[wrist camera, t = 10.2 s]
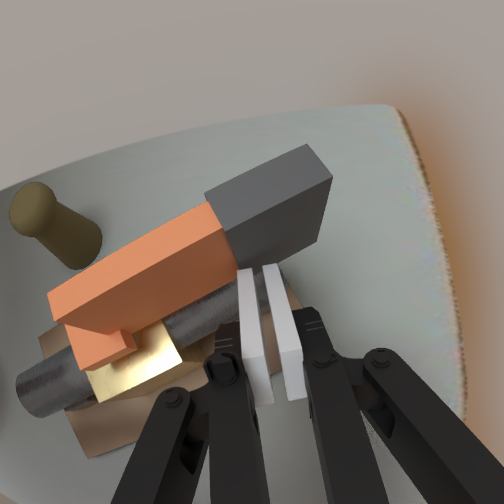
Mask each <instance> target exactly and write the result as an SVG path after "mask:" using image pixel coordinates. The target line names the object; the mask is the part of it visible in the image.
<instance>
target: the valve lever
mask: <svg viewBox="0 0 504 504" xmlns="http://www.w3.org/2000/svg"><path fill="white" fill-rule="evenodd" d="M332 179H333V175H332V174H331V173H330V172H329V170H328V169H327V168H326V166H325V165H324V164H323V163H322V161H321V160H320V159H319V158H318V156H317V155H316V154H315V153H314V151H313V150H312V149H311V148H310V147H309V145H308V144H305V145H303V146H300V147H298V148H296V149H294V150H291V151H289V152H287V153H285V154H283V155H281V156H278V157H276V158H274V159H272V160H270V161H268V162H266V163H264V164H261V165H259V166H257V167H255V168H253V169H251V170H249V171H247V172H245V173H243V174H241V175H239V176H237V177H235V178H233V179H231V180H229V181H227V182H225V183H223V184H221V185H219V186H217V187H215V188H213V189H211V190H209V191H207V192H205V193H204V195H205V197H206V199H207V201H206V202H205V203H203V204H201V205H199V206H197V207H195V208H193V209H191V210H189V211H188V212H186V213H184V214H182V215H180V216H178V217H176V218H174V219H173V220H171V221H169V222H167V223H165V224H163V225H162V226H160V227H158V228H156V229H154V230H153V231H151V232H149V233H147V234H145V235H144V236H142V237H140V238H138V239H137V240H135V241H133V242H131V243H130V244H128V245H126V246H124V247H123V248H121V249H119V250H117V251H116V252H114V253H112V254H111V255H109V256H107V257H106V258H104V259H102V260H101V261H99V262H97V263H96V264H94V265H92V266H91V267H89V268H87V269H86V270H84V271H82V272H81V273H79V274H77V275H76V276H74V277H73V278H71V279H69V280H68V281H66V282H64V283H63V284H61V285H60V286H58V287H57V288H55V289H53V290H52V291H50V292H49V293H47V295H48V299H49V303H50V307H51V311H52V315H53V318H54V321H55V322H58V323H62V324H65V328H66V331H67V334H68V337H69V340H70V343H71V346H72V349H73V352H74V355H75V358H76V361H77V363H78V366H79V369H80V371H95V370H97V369H99V368H101V367H103V366H105V365H107V364H109V363H111V362H113V361H115V360H118V359H120V358H122V357H124V356H126V355H128V354H130V353H132V352H134V351H136V350H138V348H137V346H136V344H135V341H134V339H133V337H132V334H133V333H134V332H136V331H138V330H140V329H142V328H144V327H146V326H148V325H150V324H152V323H154V322H156V321H158V320H159V319H161V318H163V317H165V316H167V315H169V314H171V313H173V312H175V311H177V310H178V309H180V308H182V307H184V306H186V305H188V304H190V303H192V302H194V301H196V300H197V299H199V298H201V297H203V296H205V295H207V294H209V293H211V292H212V291H214V290H216V289H218V288H220V287H222V286H224V285H226V284H228V283H229V282H231V281H233V280H235V279H237V270H243V269H248V268H252V271H253V276H255V275H256V274H258V273H260V272H262V271H263V267H262V266H264V265H269V264H274V263H279V262H280V261H282V260H284V259H286V258H288V257H290V256H291V255H293V254H295V253H297V252H299V251H300V250H302V249H304V248H306V247H308V246H310V245H311V244H313V243H315V242H316V241H317V238H318V234H319V230H320V226H321V223H322V219H323V215H324V211H325V207H326V203H327V199H328V195H329V191H330V187H331V183H332Z"/></svg>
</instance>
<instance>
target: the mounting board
mask: <svg viewBox="0 0 504 504" xmlns="http://www.w3.org/2000/svg"><path fill="white" fill-rule="evenodd" d="M285 280H286V279H285ZM286 283H287V286H288V289H287V290H285V292H286V295H287V298H288V302H289V305H290V309H291V311H292V310H297V309H302V308H303V306H302V305H301V303H300V302H299V300H298V298H297V297H296V295H295V294H294V292H293V290H292V289H291V287H290V286H289V284H288V282H287V281H286ZM268 301H269V300H268ZM232 322H236V321H235V320H234V321H232ZM232 322H230V323H232ZM262 324H263V330H264V337H265V343H266V350H267V356H268V363H269V369H270V375H272V374H274V373H276V372H277V371H279V370H281V369H282V366H281V361H280V356H279V351H278V346H277V341H276V336H275V331H274V326H273V321H272V316H271V312H269V313H267V314H266V315H264V316H262ZM215 332H216V331H214V332H212V333H210V334H208V335H207V336H205V337H203V338H201V339H199V340H198V341H197V342H198V344H199V346H200V348H201V350H202V352H203V353H204V355H205V357H206V358H207V357H208V356H210V355H211V354H213V353H214V349H215ZM38 338H39V342H40V345H41V348H42V351H43V354H44V357H45V359H47V358H48V357H50V356H52V355H53V354H55V353H57V352H58V351H60V350H62V349H64V348H65V347H67V346H69V345H70V344H71V343H70V340H69V337H68V334H67V331H66V328H65V324H62V323H60V324H59V325H57V326H55V327H54V328H52V329H51V330H49V331H47V332H46V333H44V334H43V335H41V336H40V337H38ZM208 382H209V381H208V378H207V375H206V373H205V370H204V368H203V367H201V368H199V369H197V370H195V371H193V372H191V373H189V374H187V375H186V376H184V377H182V378H180V379H178V380H176V381H174V382H172V383H170V384H168V385H166V386H164V387H162V388H160V389H158V390H156V391H154V392H152V393H150V394H148V395H145V396H143V397H137V398H131V399H125V400H118V401H111V402H104V403H97V404H95V405H92V406H90V407H88V408H86V409H84V410H76V411H68V412H66V415H67V417H68V419H69V421H70V424H71V426H72V428H73V430H74V432H75V434H76V436H77V439H78V441H79V443H80V445H81V447H82V449H83V451H84V452H85V454H86V456H87V458H88V459H89V458H92V457H95V456H98V455H100V454H103V453H106V452H109V451H111V450H114V449H117V448H119V447H122V446H124V445H127V444H129V443H132V442H134V441H137V440H138V439H139V436H140V434H141V432H142V430H143V427H144V425H145V423H146V421H147V418H148V416H149V414H150V412H151V410H152V407H153V405H154V403H155V401H156V398H157V397H158V396H159V394H160V393H161V392H163V391H164V390H165V389H168V388H171V387H182V388H185V389H186V390H188V391H189V392H190V391H192V390H195V389H198V388H200V387H202V386H204V385H205V384H206V383H208Z"/></svg>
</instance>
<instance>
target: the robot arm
mask: <svg viewBox="0 0 504 504" xmlns="http://www.w3.org/2000/svg"><path fill="white" fill-rule="evenodd" d="M262 267H263V273H264V278H265V284H266V289H267V295H268V300H269V305H270V311H271V316H272V321H273V326H274V331H275V336H276V341H277V346H278V351H279V356H280V361H281V366H282V371H283V377H284V382H285V387H286V392H287V397H288V401H292V400H297V399H302V398H307V396H308V401H309V411H310V419H312V424H313V429H314V434H315V439H316V444H317V449H318V454H319V459H320V464H321V469H322V474H323V479H324V484H325V490H326V495H327V500H328V504H389V501H388V498H387V494H386V491H385V488H384V484H383V481H382V478H381V475H380V471H379V468H378V465H377V462H376V459H375V456H374V452H373V449H372V446H371V443H370V440H369V437H368V434H367V431H366V428H365V425H364V422H363V419H362V416H361V413H360V410H361V411H362V413H363V414H364V416H365V417H366V418H367V420H368V421H369V423H370V424H371V425H372V427H373V428H374V430H375V431H376V432H377V434H378V435H379V436H380V438H381V439H382V441H383V442H384V443H385V445H386V446H387V448H388V449H389V450H390V452H391V453H392V455H393V456H394V457H395V459H396V460H397V461H398V463H399V464H400V466H401V467H402V468H403V470H404V471H405V473H406V474H407V475H408V477H409V478H410V479H411V481H412V482H413V484H414V485H415V486H416V488H417V489H418V491H419V492H420V493H421V495H422V496H423V497H424V499H425V500H426V502H427V503H428V504H504V467H503V466H502V465H501V463H499V461H498V460H497V459H496V458H495V457H494V456H493V455H492V454H491V453H490V451H489V450H488V449H487V448H486V447H485V446H484V445H483V444H482V443H481V441H480V440H479V439H478V438H477V437H476V436H475V435H474V434H473V433H472V432H471V431H470V430H469V428H468V427H467V426H466V425H465V424H464V423H463V422H462V421H461V420H460V419H459V418H458V417H457V416H456V415H455V413H454V412H453V411H452V410H451V409H450V408H449V407H448V406H447V405H446V404H445V403H444V402H443V401H442V400H441V399H440V398H439V397H438V396H437V395H436V393H435V392H434V391H433V390H432V389H431V388H430V387H429V386H428V385H427V384H426V383H425V382H424V381H423V380H422V379H421V378H420V377H419V376H418V375H417V374H416V373H415V372H414V371H413V370H412V369H411V368H410V367H409V366H408V365H407V364H406V362H405V361H404V360H403V359H402V358H401V357H400V356H399V355H398V354H397V353H395V352H394V351H392V350H391V349H387V348H376V349H373V350H371V351H369V352H368V353H366V355H365V357H364V359H351V358H346V357H342V356H341V355H339V354H338V353H337V352H336V351H335V350H334V348H333V346H332V344H331V341H330V339H329V336H328V334H327V331H326V329H325V327H324V324H323V321H322V319H321V317H320V314H319V312H318V311H316V310H315V309H314V308H313V307H307V308H302V309H297V310H292V311H291V309H290V305H289V302H288V298H287V295H286V292H285V288H284V285H283V282H282V278H281V275H280V272H279V268H278V265H277V263H274V264H269V265H264V266H262ZM237 279H238V298H239V316H240V321H238V322H232V323H226V324H220V326H219V327H218V329H217V330H216V332H215V349H214V353H213V354H211V355H210V356H208V357H207V358H206V360H205V361H204V364H203V368H204V370H205V373H206V375H207V378H208V381H209V382H208V383H206V384H205V385H204V386H202V387H200V388H198V389H195V390H192V391H190V392H189V391H188V390H186V389H185V388H182V387H171V388H168V389H165V390H164V391H163V392H161V393H160V394H159V396H158V397H157V398H156V401H155V403H154V405H153V407H152V410H151V412H150V414H149V416H148V418H147V421H146V423H145V425H144V427H143V430H142V432H141V434H140V436H139V439H138V441H137V443H136V446H135V448H134V450H133V452H132V455H131V457H130V459H129V462H128V464H127V466H126V468H125V471H124V473H123V475H122V478H121V480H120V482H119V485H118V487H117V489H116V492H115V494H114V496H113V499H112V501H111V504H192V502H193V498H194V495H195V491H196V488H197V484H198V481H199V477H200V474H201V470H202V467H203V463H204V460H205V456H206V453H207V449H208V446H209V461H210V498H211V504H270V499H269V493H268V486H267V480H266V473H265V466H264V459H263V453H262V446H261V439H260V432H259V425H258V418H257V414H256V411H255V406H256V407H258V406H264V405H270V404H275V402H274V395H273V389H272V382H271V376H270V369H269V363H268V356H267V350H266V343H265V337H264V330H263V324H262V317H261V311H260V306H259V301H258V296H257V291H256V286H255V281H254V276H253V271H252V268H248V269H243V270H237Z"/></svg>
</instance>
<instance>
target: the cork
mask: <svg viewBox="0 0 504 504" xmlns="http://www.w3.org/2000/svg"><path fill="white" fill-rule="evenodd" d="M9 218H10V221H11V224H12V226H13V228H14V229H15V230H16V231H17V232H18V233H20V234H21V235H23V236H28V237H35V238H36V239H37V240H38V241H39V242H41V243H42V244H43V245H44V246H45V247H46V248H47V249H48V250H49V251H50V252H51V253H53V254H54V255H55V256H56V257H57V258H58V259H59V260H60V261H62V262H63V263H64V264H65V265H66V266H67V267H69V268H71V269H74V270H78V269H83V268H85V267H87V266H88V265H90V264H91V263H92V262H93V261H94V260H95V258H96V256H97V255H98V253H99V251H100V248H101V245H102V235H101V230H100V229H99V227H98V226H97V224H95V223H94V222H92V221H90V220H88V219H87V218H85V217H83V216H81V215H80V214H78V213H76V212H74V211H73V210H71V209H69V208H67V207H66V206H64V205H62V204H61V203H59V202H57V200H56V197H55V195H54V193H53V191H52V190H51V189H50V188H49V187H48V186H46V185H45V184H43V183H41V182H31V183H29V184H26V185H25V186H23V187H22V188H21V189H20V190H19V191H18V192H17V194H16V195H15V197H14V198H13V201H12V203H11V206H10V210H9Z"/></svg>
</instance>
